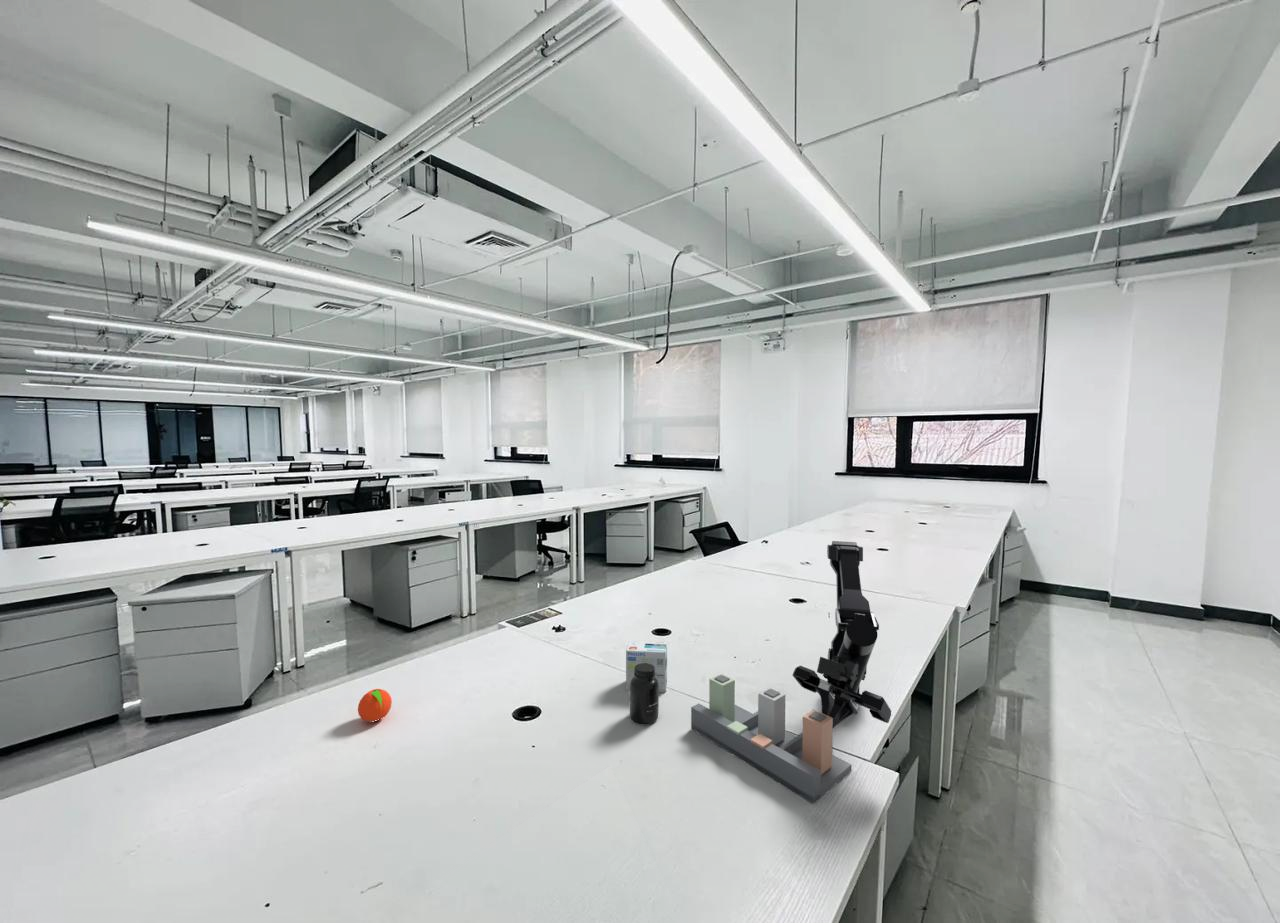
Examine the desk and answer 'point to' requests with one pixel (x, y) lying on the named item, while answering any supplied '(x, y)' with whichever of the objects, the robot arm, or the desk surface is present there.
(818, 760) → the peach tall block
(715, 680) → the pale green tall block
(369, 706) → the clementine
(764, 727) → the grey block
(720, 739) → the block sorting stand
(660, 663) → the light bulb box
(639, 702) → the supplement bottle
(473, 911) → the desk surface
